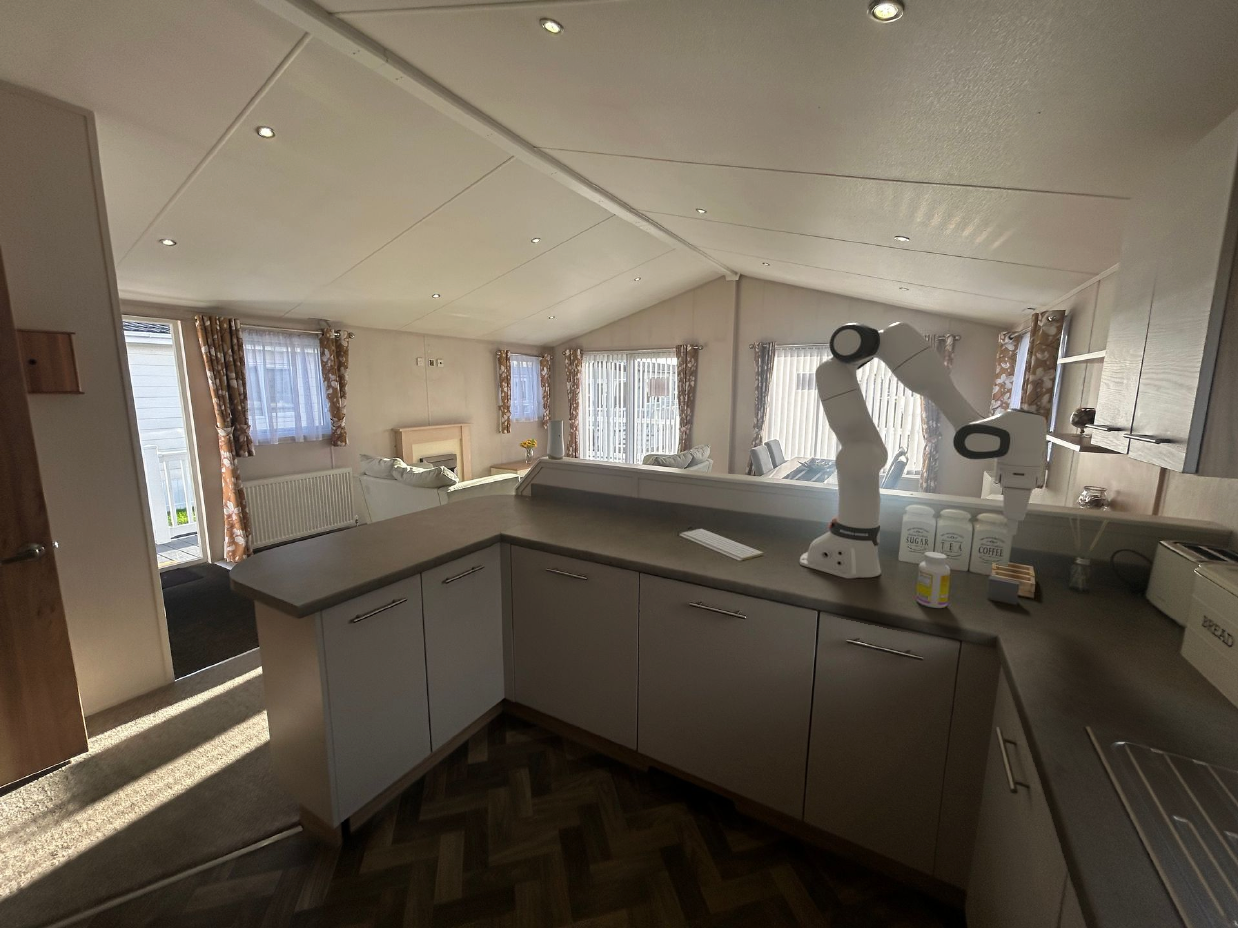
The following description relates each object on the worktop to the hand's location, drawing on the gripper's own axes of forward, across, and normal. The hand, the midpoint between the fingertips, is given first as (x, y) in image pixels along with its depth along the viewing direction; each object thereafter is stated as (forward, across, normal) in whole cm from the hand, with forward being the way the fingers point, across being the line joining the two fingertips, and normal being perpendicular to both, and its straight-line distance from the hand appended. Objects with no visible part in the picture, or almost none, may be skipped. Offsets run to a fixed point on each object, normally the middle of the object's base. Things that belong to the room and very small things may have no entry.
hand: (1011, 529), depth 122 cm
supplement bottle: (+19, +13, -14) cm, 27 cm away
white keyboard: (+19, +5, -78) cm, 81 cm away
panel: (+19, 0, 0) cm, 19 cm away
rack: (+19, -16, +2) cm, 24 cm away
